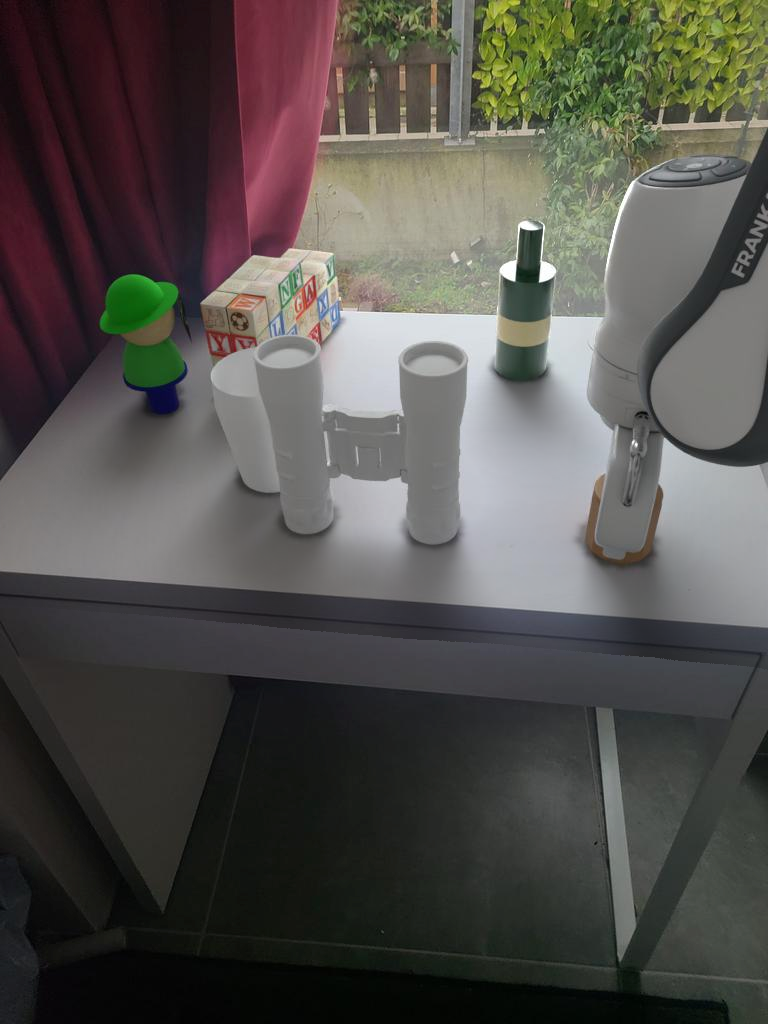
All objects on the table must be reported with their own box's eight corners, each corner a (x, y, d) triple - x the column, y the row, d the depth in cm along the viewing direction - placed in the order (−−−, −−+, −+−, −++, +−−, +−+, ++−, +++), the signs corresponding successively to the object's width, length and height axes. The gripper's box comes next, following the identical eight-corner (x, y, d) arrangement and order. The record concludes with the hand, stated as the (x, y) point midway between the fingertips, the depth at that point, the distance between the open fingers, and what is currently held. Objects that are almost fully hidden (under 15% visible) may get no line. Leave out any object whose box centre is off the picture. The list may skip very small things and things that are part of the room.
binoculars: (465, 511, 77) (471, 342, 65) (459, 551, 73) (465, 378, 61) (288, 497, 79) (263, 332, 67) (274, 535, 75) (244, 367, 63)
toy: (208, 411, 91) (181, 286, 81) (130, 430, 89) (92, 304, 79) (192, 373, 98) (165, 252, 88) (119, 389, 95) (83, 268, 85)
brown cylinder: (653, 526, 74) (665, 475, 70) (648, 569, 70) (661, 517, 66) (589, 515, 76) (598, 464, 72) (581, 557, 72) (590, 505, 68)
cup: (299, 437, 87) (286, 336, 79) (333, 484, 81) (322, 380, 73) (218, 462, 84) (196, 361, 76) (247, 513, 78) (226, 408, 70)
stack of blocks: (298, 314, 108) (287, 223, 99) (341, 321, 106) (334, 228, 98) (218, 401, 93) (198, 301, 85) (268, 410, 91) (251, 309, 83)
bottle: (550, 357, 97) (565, 216, 86) (541, 384, 93) (556, 239, 81) (499, 351, 99) (508, 211, 87) (488, 377, 94) (496, 234, 83)
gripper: (686, 469, 54) (648, 610, 63) (696, 322, 68) (663, 454, 77) (589, 454, 55) (565, 593, 64) (618, 313, 70) (596, 443, 79)
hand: (619, 516), depth 71 cm, fingers open, 8 cm apart
